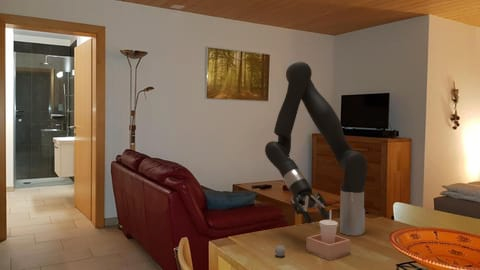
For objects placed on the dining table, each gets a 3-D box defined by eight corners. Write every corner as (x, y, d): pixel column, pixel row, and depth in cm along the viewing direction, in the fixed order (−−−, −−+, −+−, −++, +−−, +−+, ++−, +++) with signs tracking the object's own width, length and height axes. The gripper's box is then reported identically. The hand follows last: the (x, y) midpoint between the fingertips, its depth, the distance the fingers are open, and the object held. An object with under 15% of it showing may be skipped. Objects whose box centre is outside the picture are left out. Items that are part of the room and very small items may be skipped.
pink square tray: (327, 245, 145) (327, 232, 145) (350, 254, 137) (350, 239, 136) (306, 251, 139) (306, 237, 139) (329, 260, 130) (329, 245, 130)
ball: (280, 253, 137) (280, 243, 137) (287, 256, 134) (287, 246, 134) (272, 255, 135) (272, 245, 135) (279, 258, 132) (279, 248, 132)
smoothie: (337, 253, 134) (338, 212, 133) (318, 252, 135) (319, 211, 135) (337, 247, 140) (338, 208, 140) (318, 245, 142) (319, 207, 141)
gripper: (288, 179, 143) (310, 217, 134) (315, 176, 151) (338, 212, 143) (278, 191, 148) (299, 229, 139) (305, 187, 156) (327, 223, 147)
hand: (319, 220), depth 141 cm, fingers open, 8 cm apart
